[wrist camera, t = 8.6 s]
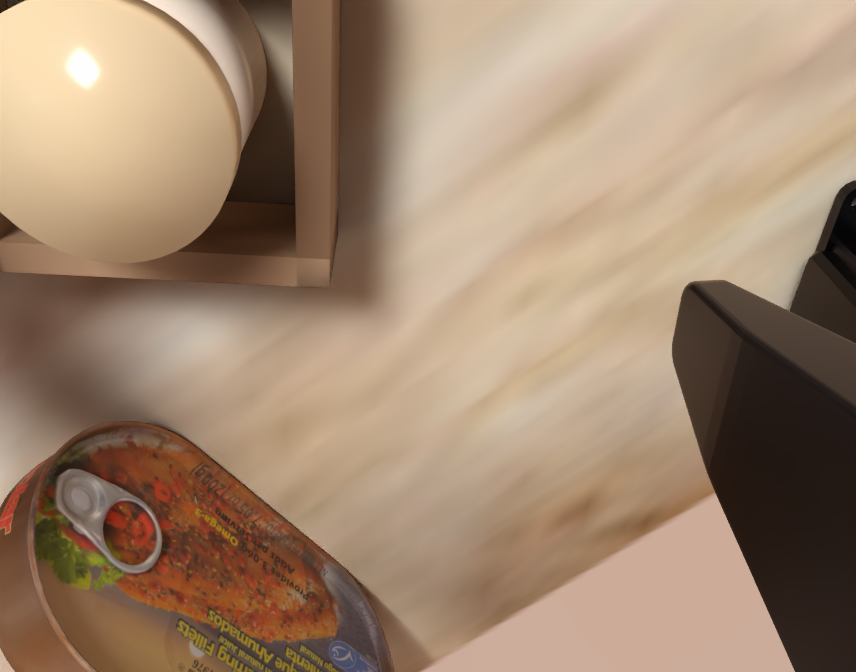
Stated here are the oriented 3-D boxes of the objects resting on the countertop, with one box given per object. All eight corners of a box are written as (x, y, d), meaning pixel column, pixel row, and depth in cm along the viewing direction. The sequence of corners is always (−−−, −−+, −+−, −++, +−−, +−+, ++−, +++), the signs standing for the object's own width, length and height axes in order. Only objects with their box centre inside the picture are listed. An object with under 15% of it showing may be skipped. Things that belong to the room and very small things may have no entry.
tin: (404, 616, 32) (405, 847, 25) (342, 647, 33) (326, 879, 26) (106, 366, 25) (-11, 588, 18) (38, 415, 26) (-97, 644, 19)
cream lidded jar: (267, -42, 19) (224, 8, 14) (274, 171, 22) (240, 269, 17) (35, -60, 19) (-84, -14, 14) (73, 159, 21) (-16, 256, 17)
